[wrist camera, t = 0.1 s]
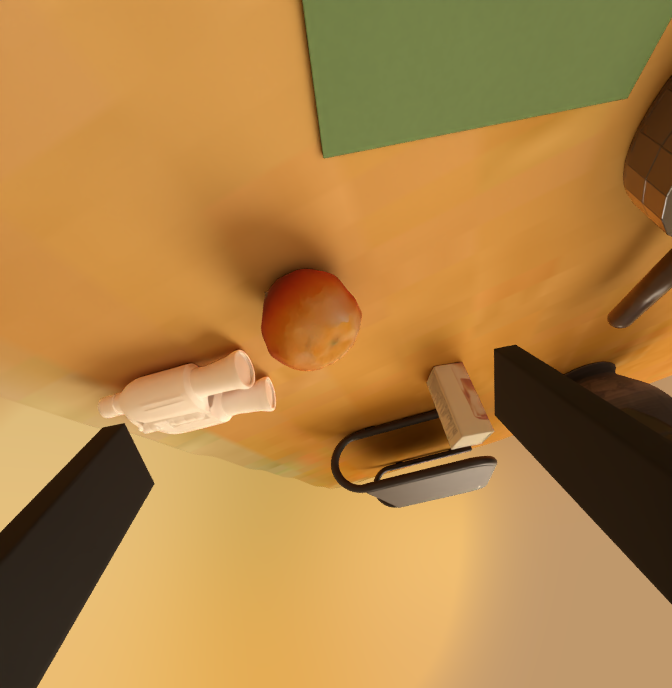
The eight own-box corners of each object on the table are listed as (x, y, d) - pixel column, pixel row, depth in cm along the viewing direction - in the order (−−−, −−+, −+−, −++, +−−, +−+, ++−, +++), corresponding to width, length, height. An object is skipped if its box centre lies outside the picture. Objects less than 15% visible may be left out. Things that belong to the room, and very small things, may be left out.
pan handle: (693, 217, 26) (715, 235, 25) (721, 211, 26) (744, 229, 25) (598, 318, 37) (610, 334, 36) (617, 314, 37) (630, 330, 36)
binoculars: (277, 382, 41) (280, 418, 39) (160, 413, 43) (155, 449, 41) (237, 339, 33) (237, 381, 30) (92, 380, 34) (81, 423, 32)
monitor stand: (470, 445, 89) (486, 488, 83) (369, 470, 94) (378, 512, 88) (474, 397, 58) (501, 460, 52) (325, 438, 63) (335, 499, 57)
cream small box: (453, 378, 50) (480, 444, 44) (425, 382, 49) (449, 450, 44) (464, 360, 45) (496, 432, 40) (433, 365, 45) (461, 438, 39)
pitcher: (512, 402, 64) (607, 594, 48) (584, 341, 47) (771, 609, 31) (591, 390, 66) (707, 569, 50) (688, 328, 49) (912, 570, 33)
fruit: (217, 303, 26) (269, 361, 21) (289, 233, 27) (354, 274, 22) (272, 349, 32) (320, 401, 28) (328, 292, 33) (385, 333, 29)
